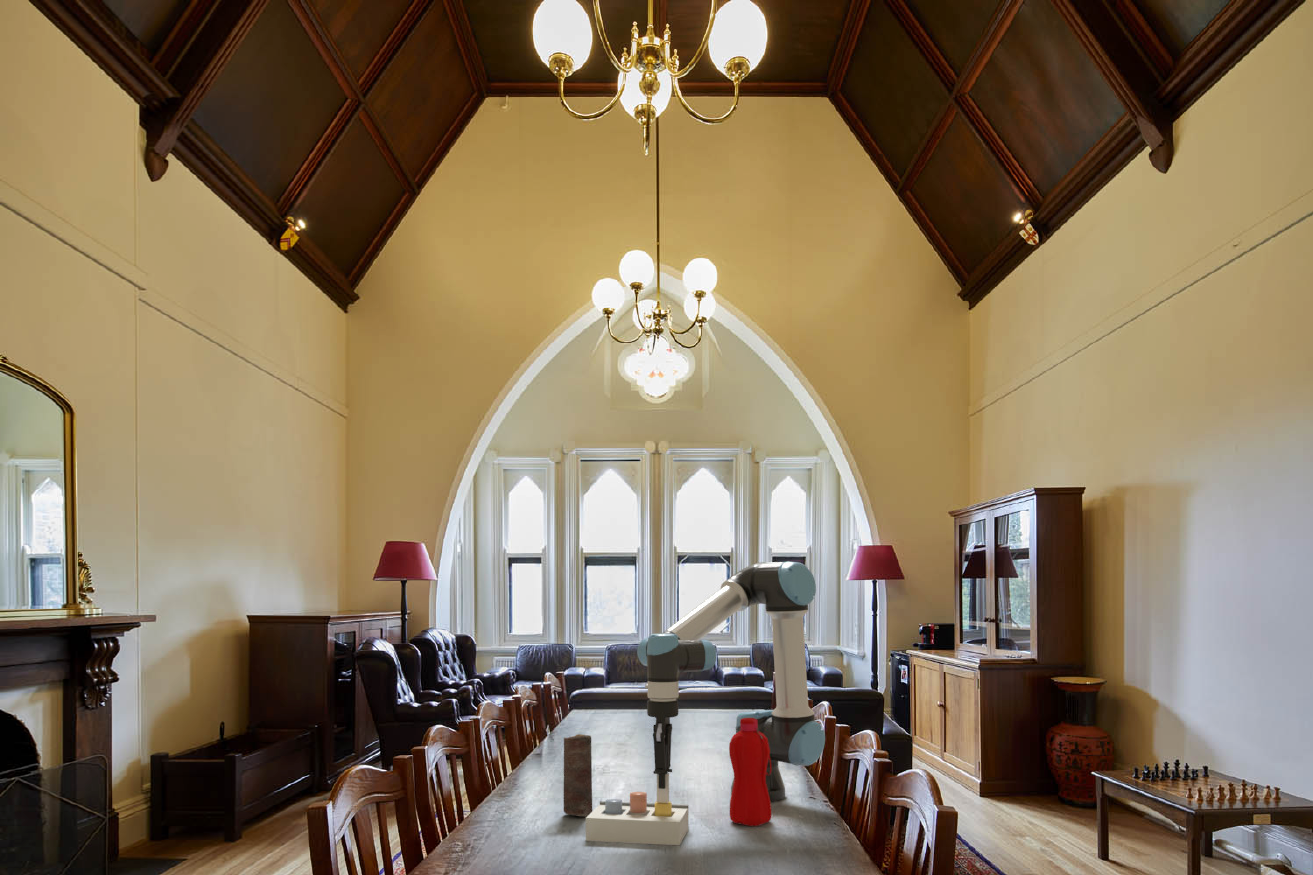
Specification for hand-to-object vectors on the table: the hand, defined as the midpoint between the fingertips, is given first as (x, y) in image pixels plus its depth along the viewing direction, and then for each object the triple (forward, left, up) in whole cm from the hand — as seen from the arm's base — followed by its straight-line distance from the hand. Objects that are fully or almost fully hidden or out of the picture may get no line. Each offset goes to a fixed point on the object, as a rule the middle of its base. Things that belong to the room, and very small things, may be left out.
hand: (662, 801), depth 217 cm
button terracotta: (+6, 0, -2) cm, 6 cm away
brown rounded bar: (+25, -15, -8) cm, 30 cm away
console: (+6, 0, -8) cm, 10 cm away
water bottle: (-20, -16, -8) cm, 27 cm away
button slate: (+12, 0, -4) cm, 13 cm away
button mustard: (0, 0, -4) cm, 4 cm away
